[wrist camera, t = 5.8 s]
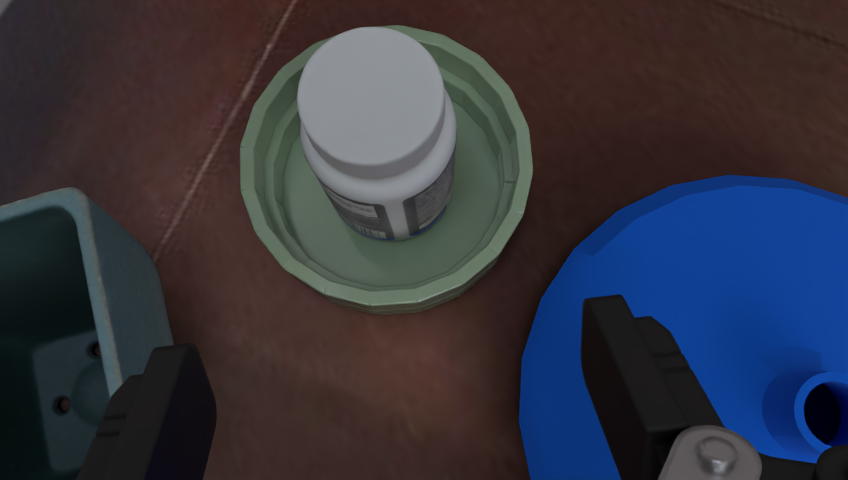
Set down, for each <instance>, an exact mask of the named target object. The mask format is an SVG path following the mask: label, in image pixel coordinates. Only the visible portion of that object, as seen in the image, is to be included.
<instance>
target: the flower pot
mask: <svg viewBox="0 0 848 480" xmlns="http://www.w3.org/2000/svg"><path fill="white" fill-rule="evenodd" d="M96 343H99V347H100V353H101V356H100V357H96V356H94V355H93V353H92V348H93V346H94V345H95V344H96ZM171 345H174V342H173V337H172V332H171V328H170V324H169V319H168V315H167V310H166V305H165V299H164V294H163V290H162V285H161V281H160V278H159V275H158V272H157V269H156V266H155V264H154V262H153V260H152V258H151V257H150V255H149V253H148V252H147V250H146V249H145V248H144V247H143V246H142V245H141V244H140V242H138V241H137V240H136V239H135V238H134V237H133V236H132V235H131V234H130V233H129V232H128V231H126V230H125V229H124V228H123V227H122V226H121V225H120V224H119V223H117V222H116V221H115V220H114V219H113V218H112V217H111V216H109V215H108V214H107V213H106V212H105V211H104V210H102V209H101V208H100V207H99V206H98V205H97V204H95V203H94V202H93V201H92V200H90V199H89V198H88V197H87V196H86V195H85V194H84V193H83V192H82V191H80V190H78V189H76V188H73V187H68V188H62V189H58V190H54V191H49V192H45V193H42V194H39V195H36V196H33V197H29V198H26V199H21V200H18V201H15V202H13V203H10V204H6V205H2V206H0V480H76V478H77V476H78V474H79V471H80V469H81V466H82V464H83V462H84V459H85V457H86V455H87V452H88V450H89V448H90V445H91V443H92V441H93V438H96V431H97V429H98V427H99V424H100V422H101V421H103V415H104V413H105V410H106V408H107V406H108V403H109V401H110V399H111V396H112V395H113V394H114V392H115V391H116V390H117V389H118V388H119V387H120V386H121V385H122V384H123V383H124V382H125V381H126V379H127V378H128V377H129V376H130V375H139V374H143V372H144V370H145V367H146V365H147V362H148V360H149V357H150V354H151V352H152V350H153V349H154V348H156V347H162V346H171ZM61 398H68V399H69V400H70V408H69V409H68V410H67V411H66V412H61V411H60V410H59V409H58V402H59V400H60V399H61Z"/></svg>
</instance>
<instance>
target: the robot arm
mask: <svg viewBox="0 0 848 480" xmlns="http://www.w3.org/2000/svg"><path fill="white" fill-rule="evenodd" d="M581 366H582V372H583V377H584V381H585V384H586V387H587V389H588V392H589V395H590V397H591V400H592V403H593V405H594V408H595V411H596V413H597V416H598V419H599V421H600V424H601V427H602V430H603V432H604V435H605V438H606V440H607V443H608V446H609V448H610V451H611V454H612V456H613V459H614V462H615V464H616V467H617V470H618V472H619V475H620V478H621V480H848V445H838V446H834V447H830V448H828V449H827V450H825V451H824V452H822V453H821V454H820V456H819V458H818V460H817V463H810V462H803V461H796V460H790V459H783V458H777V457H772V456H768V455H765V454H762V453H759V452H757V451H756V449H755V448H754V447H753V445H752V444H751V443H750V442H749V441H748V440H746V439H745V438H744V437H742V436H741V435H739V434H737V433H736V432H734V431H731V430H729V429H726V428H725V426H724V425H723V423H722V421H721V420H720V418H719V416H718V414H717V413H716V411H715V409H714V407H713V406H712V404H711V402H710V400H709V398H708V397H707V395H706V393H705V391H704V390H703V388H702V386H701V384H700V383H699V381H698V379H697V377H696V376H695V374H694V372H693V370H692V369H690V365H689V363H688V362H687V360H686V358H685V356H684V355H683V354H681V349H680V348H679V346H678V344H677V342H676V341H675V339H674V337H673V335H672V334H671V332H670V331H669V330H668V329H667V328H665V327H664V326H663V325H662V324H660V323H659V322H658V321H657V320H655V319H654V318H653V317H651V316H645V317H636V318H634V316H633V314H632V312H631V310H630V308H629V306H628V304H627V302H626V301H625V299H624V297H623V296H622V295H621V294H618V295H609V296H601V297H592V298H585V299H584V301H583V308H582V332H581ZM215 426H216V403H215V398H214V394H213V391H212V389H211V386H210V383H209V380H208V377H207V375H206V372H205V369H204V366H203V363H202V361H201V358H200V355H199V352H198V350H197V348H196V346H195V345H194V344H193V343H188V344H179V345H171V346H162V347H156V348H154V349H153V350H152V352H151V354H150V357H149V360H148V362H147V365H146V367H145V370H144V372H143V374H139V375H130V376H129V377H128V378H127V379H126V381H125V382H124V383H123V384H122V385H121V386H120V387H119V388H118V389H117V390H116V391H115V392H114V394H113V395H112V396H111V399H110V401H109V403H108V406H107V408H106V410H105V413H104V415H103V421H101V422H100V424H99V427H98V429H97V431H96V438H93V441H92V443H91V445H90V448H89V450H88V452H87V455H86V457H85V459H84V462H83V464H82V466H81V469H80V471H79V474H78V476H77V478H76V480H203V476H204V472H205V468H206V464H207V460H208V456H209V451H210V447H211V443H212V439H213V435H214V431H215Z"/></svg>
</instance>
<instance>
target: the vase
mask: <svg viewBox="0 0 848 480" xmlns="http://www.w3.org/2000/svg"><path fill="white" fill-rule="evenodd" d="M618 294H621V295H622V296H623V297H624V299H625V301H626V302H627V304H628V306H629V308H630V310H631V312H632V314H633V316H634V318H636V317H645V316H651V317H653V318H654V319H655V320H657V321H658V322H659V323H660V324H662V325H663V326H664V327H665V328H667V329H668V330H669V331H670V332H671V334H672V335H673V337H674V339H675V341H676V342H677V344H678V346H679V348H680V349H681V354H683V355H684V356H685V358H686V360H687V362H688V363H689V365H690V369H692V370H693V372H694V374H695V376H696V377H697V379H698V381H699V383H700V384H701V386H702V388H703V390H704V391H705V393H706V395H707V397H708V398H709V400H710V402H711V404H712V406H713V407H714V409H715V411H716V413H717V414H718V416H719V418H720V420H721V421H722V423H723V425H724V426H725V428H726V429H729V430H731V431H734V432H736V433H737V434H739V435H741V436H742V437H744V438H745V439H746V440H748V441H749V442H750V443H751V444H752V445H753V447H754V448H755V449H756V451H757V452H759V453H762V454H765V455H768V456H772V457H777V458H783V459H790V460H796V461H803V462H810V463H817V460H818V458H819V456H820V454H821V453H822V452H824V451H825V450H827V449H828V448H830V447H834V446H838V445H848V198H846V197H843V196H840V195H837V194H834V193H831V192H828V191H825V190H821V189H818V188H815V187H812V186H809V185H806V184H803V183H800V182H797V181H794V180H790V179H780V178H766V177H752V176H738V175H725V176H720V177H714V178H709V179H703V180H698V181H692V182H687V183H681V184H676V185H671V186H669V187H666V188H664V189H662V190H660V191H658V192H656V193H654V194H652V195H650V196H647V197H645V198H643V199H641V200H639V201H637V202H635V203H633V204H631V205H629V206H626V207H624V208H622V209H620V210H618V211H617V212H616V213H615V214H613V215H612V216H611V217H610V218H609V219H608V220H607V221H605V222H604V223H603V224H602V225H601V226H600V227H598V228H597V229H596V230H595V231H594V232H593V233H592V234H590V235H589V236H588V237H587V238H586V239H585V240H583V241H582V242H581V243H580V244H579V245H578V246H577V247H575V248H574V249H573V251H572V252H571V254H570V255H569V257H568V259H567V260H566V262H565V263H564V265H563V266H562V268H561V269H560V271H559V272H558V274H557V275H556V277H555V278H554V280H553V281H552V283H551V284H550V286H549V287H548V289H547V290H546V292H545V293H544V295H543V296H542V298H541V300H540V303H539V307H538V310H537V313H536V316H535V319H534V322H533V325H532V328H531V331H530V334H529V337H528V341H527V344H526V347H525V350H524V353H523V356H522V368H521V387H520V407H519V426H520V431H521V436H522V441H523V445H524V450H525V455H526V460H527V465H528V470H529V475H530V480H621V478H620V475H619V472H618V470H617V467H616V464H615V462H614V459H613V456H612V454H611V451H610V448H609V446H608V443H607V440H606V438H605V435H604V432H603V430H602V427H601V424H600V421H599V419H598V416H597V413H596V411H595V408H594V405H593V403H592V400H591V397H590V395H589V392H588V389H587V387H586V384H585V381H584V377H583V372H582V366H581V332H582V308H583V301H584V299H585V298H592V297H601V296H609V295H618Z"/></svg>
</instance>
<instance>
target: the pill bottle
mask: <svg viewBox="0 0 848 480" xmlns="http://www.w3.org/2000/svg"><path fill="white" fill-rule="evenodd" d="M297 104H298V112H299V116H300V119H301V123H300V136H301V143H302V147H303V151H304V155H305V158H306V160H307V162H308V164H309V166H310V168H311V170H312V171H313V173H314V174H315V176H316V177H317V179H318V181H319V183H320V184H321V186H322V188H323V190H324V191H325V193H326V195H327V196H328V198H329V199H330V201H331V203H332V205H333V206H334V208H335V210H336V211H337V213H338V214H339V216H340V217H341V218H342V220H343V221H344V222H345V223H346V224H347V225H348V226H349V227H350V228H352V229H353V230H354V231H356V232H357V233H359V234H361V235H363V236H365V237H367V238H370V239H373V240H377V241H386V242H393V241H403V240H407V239H411V238H414V237H416V236H419V235H421V234H422V233H424V232H426V231H427V230H428V229H430V228H431V227H432V226H433V225H434V224H435V223H436V222H437V221H438V220H439V219H440V218H441V216H442V215H443V213H444V212H445V210H446V208H447V206H448V204H449V201H450V198H451V195H452V190H453V182H454V167H455V150H456V138H457V122H456V116H455V111H454V107H453V104H452V102H451V99H450V97H449V95H448V93H447V91H446V89H445V88H444V83H443V79H442V75H441V73H440V70H439V68H438V66H437V64H436V62H435V60H434V59H433V57H432V56H431V54H430V53H429V52H428V51H427V50H426V49H425V48H424V47H423V46H422V45H421V44H420V43H419V42H417V41H416V40H415V39H413V38H411V37H410V36H408V35H406V34H404V33H402V32H399V31H396V30H392V29H389V28H381V27H362V28H356V29H352V30H349V31H346V32H343V33H341V34H338V35H337V36H335V37H333V38H332V39H330V40H328V41H327V42H326V43H325V44H323V45H322V46H321V47H320V48H319V49H318V50H317V51H316V52H315V53H314V54H313V55H312V56H311V58H310V59H309V60H308V62H307V63H306V65H305V67H304V70H303V72H302V75H301V78H300V81H299V85H298V93H297Z"/></svg>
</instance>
